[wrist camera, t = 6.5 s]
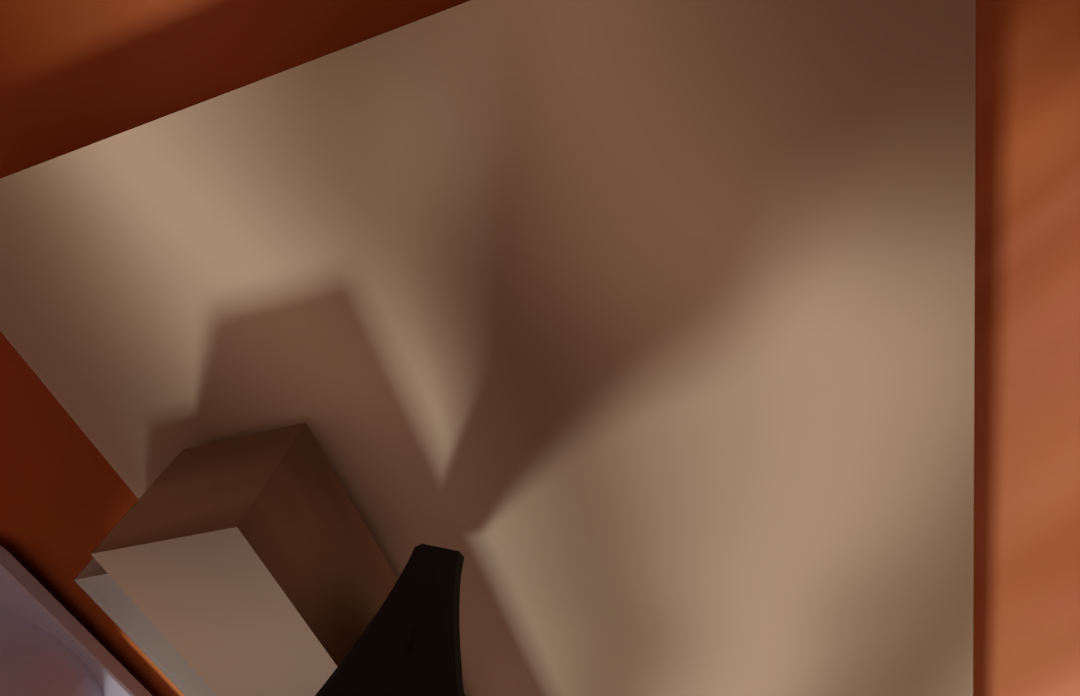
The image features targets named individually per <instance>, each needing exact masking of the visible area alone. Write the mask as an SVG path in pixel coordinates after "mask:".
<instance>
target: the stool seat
mask: <svg viewBox="0 0 1080 696" xmlns="http://www.w3.org/2000/svg"><path fill="white" fill-rule="evenodd" d="M975 120H976V0H470V1H468V2H465V3H462V4H460V5H457V6H455V7H452V8H449V9H447V10H444V11H441V12H439V13H436V14H433V15H431V16H428V17H426V18H423V19H420V20H418V21H415V22H412V23H410V24H407V25H404V26H402V27H399V28H396V29H394V30H391V31H389V32H386V33H383V34H381V35H378V36H375V37H373V38H370V39H367V40H365V41H362V42H360V43H357V44H354V45H352V46H349V47H346V48H344V49H341V50H338V51H336V52H333V53H331V54H328V55H325V56H323V57H320V58H317V59H315V60H312V61H309V62H307V63H304V64H301V65H299V66H296V67H294V68H291V69H288V70H286V71H283V72H280V73H278V74H275V75H272V76H270V77H267V78H265V79H262V80H259V81H257V82H254V83H251V84H249V85H246V86H243V87H241V88H238V89H236V90H233V91H230V92H228V93H225V94H222V95H220V96H217V97H214V98H212V99H209V100H207V101H204V102H201V103H199V104H196V105H193V106H191V107H188V108H185V109H183V110H180V111H177V112H175V113H172V114H170V115H167V116H164V117H162V118H159V119H156V120H154V121H151V122H148V123H146V124H143V125H141V126H138V127H135V128H133V129H130V130H127V131H125V132H122V133H119V134H117V135H114V136H112V137H109V138H106V139H104V140H101V141H98V142H96V143H93V144H90V145H88V146H85V147H83V148H80V149H77V150H75V151H72V152H69V153H67V154H64V155H61V156H59V157H56V158H53V159H51V160H48V161H46V162H43V163H40V164H38V165H35V166H32V167H30V168H27V169H24V170H22V171H19V172H17V173H14V174H11V175H9V176H6V177H3V178H1V179H0V331H1V333H2V334H3V335H4V336H5V338H6V339H7V340H8V341H9V342H10V344H11V345H12V346H13V347H14V349H15V350H16V351H17V352H18V353H19V355H20V356H21V357H22V358H23V359H24V361H25V362H26V363H27V364H28V366H29V367H30V368H31V369H32V370H33V372H34V373H35V374H36V375H37V377H38V378H39V379H40V380H41V381H42V383H43V384H44V385H45V386H46V387H47V389H48V390H49V391H50V392H51V394H52V395H53V396H54V397H55V398H56V400H57V401H58V402H59V403H60V405H61V406H62V407H63V408H64V409H65V411H66V412H67V413H68V414H69V416H70V417H71V418H72V419H73V420H74V422H75V423H76V424H77V425H78V426H79V428H80V429H81V430H82V431H83V433H84V434H85V435H86V436H87V437H88V439H89V440H90V441H91V442H92V444H93V445H94V446H95V447H96V448H97V450H98V451H99V452H100V453H101V454H102V456H103V457H104V458H105V459H106V461H107V462H108V463H109V464H110V465H111V467H112V468H113V469H114V470H115V472H116V473H117V474H118V475H119V476H120V478H121V479H122V480H123V481H124V482H125V484H126V485H127V486H128V487H129V489H130V490H131V491H132V492H133V493H134V495H135V496H136V497H137V498H138V500H139V498H140V497H141V496H142V495H143V494H144V493H145V492H146V490H147V489H148V488H149V487H150V486H151V485H152V484H153V483H154V481H155V480H156V479H157V478H158V477H159V476H160V475H161V473H162V472H163V471H164V470H165V469H166V468H167V467H168V465H169V464H170V463H171V462H172V461H173V460H174V459H175V458H176V456H177V455H178V454H179V453H180V452H181V451H182V450H183V449H186V448H191V447H195V446H200V445H204V444H209V443H214V442H218V441H223V440H227V439H232V438H236V437H241V436H245V435H250V434H255V433H259V432H264V431H268V430H273V429H277V428H282V427H287V426H291V425H296V424H300V423H305V422H306V424H307V426H308V427H309V429H310V431H311V432H312V434H313V436H314V437H315V439H316V441H317V443H318V444H319V446H320V448H321V449H322V451H323V453H324V454H325V456H326V458H327V460H328V461H329V463H330V465H331V466H332V468H333V470H334V472H335V473H336V475H337V477H338V478H339V480H340V482H341V483H342V485H343V487H344V489H345V490H346V492H347V494H348V495H349V497H350V499H351V501H352V502H353V504H354V506H355V507H356V509H357V511H358V512H359V514H360V516H361V518H362V519H363V521H364V523H365V524H366V526H367V528H368V529H369V531H370V533H371V535H372V536H373V538H374V540H375V541H376V543H377V545H378V547H379V548H380V550H381V552H382V553H383V555H384V557H385V558H386V560H387V562H388V564H389V565H390V567H391V569H392V570H393V572H394V574H395V576H396V577H397V579H398V578H399V577H400V575H401V573H402V571H403V570H404V568H405V566H406V564H407V562H408V560H409V558H410V556H411V554H412V552H413V550H414V548H415V547H416V546H418V545H420V544H426V545H431V546H436V547H441V548H446V549H451V550H456V551H460V553H461V554H462V555H463V556H464V562H463V567H462V574H461V583H460V602H459V628H460V650H461V663H462V677H463V688H464V693H465V695H466V696H973V602H974V361H975ZM74 581H75V582H76V583H77V584H78V585H79V586H80V587H81V588H82V589H83V590H84V591H85V592H86V593H87V594H88V595H89V596H90V597H91V598H92V600H93V601H94V602H95V603H96V604H97V605H98V606H99V607H100V608H101V609H102V610H103V611H104V612H105V613H106V614H107V615H108V616H109V617H110V618H111V619H112V620H113V621H114V622H115V623H116V624H117V626H118V627H119V628H120V629H121V630H122V631H123V632H124V633H125V634H126V635H127V636H128V637H129V638H130V639H131V640H132V641H133V642H134V643H135V644H136V645H137V646H138V647H139V648H140V649H141V650H142V652H143V653H144V654H145V655H146V656H147V657H148V658H149V659H150V660H151V661H152V662H153V663H154V664H155V665H156V666H157V667H158V668H159V669H160V670H161V671H162V672H163V673H164V674H165V675H166V676H167V677H168V679H169V680H170V681H171V682H172V683H173V684H174V685H175V686H176V687H177V688H178V689H179V690H180V691H181V692H182V693H183V694H184V695H185V696H217V695H216V694H215V693H214V692H213V691H212V689H211V688H210V687H209V686H208V685H207V684H206V683H205V682H204V680H203V679H202V678H201V677H200V676H199V675H198V674H197V673H196V671H195V670H194V669H193V668H192V667H191V666H190V665H189V664H188V663H187V661H186V660H185V659H184V658H183V657H182V656H181V655H180V654H179V652H178V651H177V650H176V649H175V648H174V647H173V646H172V645H171V643H170V642H169V641H168V640H167V639H166V638H165V637H164V636H163V635H162V633H161V632H160V631H159V630H158V629H157V628H156V627H155V626H154V624H153V623H152V622H151V621H150V620H149V619H148V618H147V617H146V616H145V614H144V613H143V612H142V611H141V610H140V609H139V608H138V607H137V605H136V604H135V603H134V602H133V601H132V600H131V599H130V598H129V596H128V595H127V594H126V593H125V592H124V591H123V590H122V589H121V588H120V586H119V585H118V584H117V583H116V582H115V581H114V580H113V579H112V577H111V576H110V575H109V574H108V573H107V572H106V571H105V570H104V568H103V567H102V566H101V565H100V564H99V563H98V562H97V561H96V560H95V558H93V559H92V560H91V561H90V562H89V563H88V565H87V566H86V567H85V568H84V569H83V570H82V571H81V573H80V574H79V575H78V576H77V577H76V578H75V579H74Z"/></svg>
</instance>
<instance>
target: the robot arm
mask: <svg viewBox="0 0 1080 696" xmlns="http://www.w3.org/2000/svg"><path fill="white" fill-rule="evenodd" d="M463 562H464V556H463V555H462V554H461V553H460V551H456V550H451V549H446V548H441V547H436V546H431V545H426V544H420V545H418V546H416V547H415V548H414V550H413V552H412V554H411V556H410V558H409V560H408V562H407V564H406V566H405V568H404V570H403V571H402V573H401V575H400V577H399V578H398V580H397V582H396V584H395V585H394V587H393V589H392V590H391V592H390V593H389V595H388V596H387V598H386V600H385V601H384V603H383V604H382V606H381V607H380V609H379V610H378V612H377V613H376V615H375V616H374V618H373V619H372V620H371V622H370V623H369V625H368V626H367V628H366V629H365V630H364V632H363V633H362V635H361V636H360V638H359V639H358V640H357V642H356V643H355V645H354V646H353V647H352V649H351V650H350V652H349V653H348V654H347V656H346V657H345V658H344V660H343V661H342V662H341V663H340V665H339V666H338V667H337V668H336V670H335V671H334V672H333V673H332V675H331V676H330V677H329V679H328V680H327V681H326V682H325V684H324V685H323V686H322V687H321V689H320V690H319V691H318V692H317V694H316V695H315V696H464V688H463V677H462V663H461V650H460V628H459V602H460V583H461V574H462V567H463ZM0 696H153V695H152V694H151V693H150V692H149V691H148V690H147V689H146V688H145V687H144V686H143V685H142V684H141V683H140V682H139V681H138V680H137V679H136V678H135V677H134V676H133V675H132V674H131V673H130V672H129V671H128V670H127V669H126V668H125V667H124V666H123V665H122V664H121V663H120V662H119V661H118V660H117V659H116V658H115V657H114V656H113V655H112V654H111V653H110V652H109V651H108V650H107V649H106V648H105V647H104V646H103V645H102V644H101V643H100V642H99V641H98V640H97V639H96V638H95V637H94V636H93V635H92V634H91V633H90V632H89V631H88V630H87V629H86V628H85V627H84V626H83V625H82V624H81V623H80V622H79V621H78V620H77V619H76V618H75V617H74V616H73V615H72V614H71V613H70V612H69V611H68V610H67V609H66V608H65V607H64V606H63V605H62V604H61V603H60V602H59V601H58V600H57V599H56V598H55V597H54V596H53V595H52V594H51V593H50V592H49V591H48V590H47V589H46V588H45V587H44V586H43V585H42V584H41V583H40V582H39V581H38V580H37V579H36V578H35V577H34V576H33V575H32V574H31V573H30V572H29V571H28V570H27V569H26V568H25V567H24V566H23V565H22V564H21V563H20V562H19V561H18V560H17V559H16V558H15V557H14V556H13V555H12V554H11V553H10V552H9V551H8V550H6V549H5V548H4V547H3V546H1V545H0Z"/></svg>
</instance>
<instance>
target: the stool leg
mask: <svg viewBox="0 0 1080 696" xmlns="http://www.w3.org/2000/svg"><path fill="white" fill-rule="evenodd" d="M91 555H92V556H93V557H94V558H95V560H96V561H97V562H98V563H99V564H100V565H101V566H102V567H103V568H104V570H105V571H106V572H107V573H108V574H109V575H110V576H111V577H112V579H113V580H114V581H115V582H116V583H117V584H118V585H119V586H120V588H121V589H122V590H123V591H124V592H125V593H126V594H127V595H128V596H129V598H130V599H131V600H132V601H133V602H134V603H135V604H136V605H137V607H138V608H139V609H140V610H141V611H142V612H143V613H144V614H145V616H146V617H147V618H148V619H149V620H150V621H151V622H152V623H153V624H154V626H155V627H156V628H157V629H158V630H159V631H160V632H161V633H162V635H163V636H164V637H165V638H166V639H167V640H168V641H169V642H170V643H171V645H172V646H173V647H174V648H175V649H176V650H177V651H178V652H179V654H180V655H181V656H182V657H183V658H184V659H185V660H186V661H187V663H188V664H189V665H190V666H191V667H192V668H193V669H194V670H195V671H196V673H197V674H198V675H199V676H200V677H201V678H202V679H203V680H204V682H205V683H206V684H207V685H208V686H209V687H210V688H211V689H212V691H213V692H214V693H215V694H216V695H217V696H315V695H316V694H317V692H318V691H319V690H320V689H321V687H322V686H323V685H324V684H325V682H326V681H327V680H328V679H329V677H330V676H331V675H332V673H333V672H334V671H335V670H336V668H337V667H338V666H339V665H340V663H341V662H342V661H343V660H344V658H345V657H346V656H347V654H348V653H349V652H350V650H351V649H352V647H353V646H354V645H355V643H356V642H357V640H358V639H359V638H360V636H361V635H362V633H363V632H364V630H365V629H366V628H367V626H368V625H369V623H370V622H371V620H372V619H373V618H374V616H375V615H376V613H377V612H378V610H379V609H380V607H381V606H382V604H383V603H384V601H385V600H386V598H387V596H388V595H389V593H390V592H391V590H392V589H393V587H394V585H395V584H396V582H397V580H398V579H397V577H396V576H395V574H394V572H393V570H392V569H391V567H390V565H389V564H388V562H387V560H386V558H385V557H384V555H383V553H382V552H381V550H380V548H379V547H378V545H377V543H376V541H375V540H374V538H373V536H372V535H371V533H370V531H369V529H368V528H367V526H366V524H365V523H364V521H363V519H362V518H361V516H360V514H359V512H358V511H357V509H356V507H355V506H354V504H353V502H352V501H351V499H350V497H349V495H348V494H347V492H346V490H345V489H344V487H343V485H342V483H341V482H340V480H339V478H338V477H337V475H336V473H335V472H334V470H333V468H332V466H331V465H330V463H329V461H328V460H327V458H326V456H325V454H324V453H323V451H322V449H321V448H320V446H319V444H318V443H317V441H316V439H315V437H314V436H313V434H312V432H311V431H310V429H309V427H308V426H307V424H306V422H305V423H300V424H296V425H291V426H287V427H282V428H277V429H273V430H268V431H264V432H259V433H255V434H250V435H245V436H241V437H236V438H232V439H227V440H223V441H218V442H214V443H209V444H204V445H200V446H195V447H191V448H186V449H183V450H182V451H181V452H180V453H179V454H178V455H177V456H176V458H175V459H174V460H173V461H172V462H171V463H170V464H169V465H168V467H167V468H166V469H165V470H164V471H163V472H162V473H161V475H160V476H159V477H158V478H157V479H156V480H155V481H154V483H153V484H152V485H151V486H150V487H149V488H148V489H147V490H146V492H145V493H144V494H143V495H142V496H141V497H140V498H139V500H138V501H137V502H136V503H135V504H134V505H133V506H132V508H131V509H130V510H129V511H128V512H127V513H126V514H125V515H124V517H123V518H122V519H121V520H120V521H119V522H118V523H117V525H116V526H115V527H114V528H113V529H112V530H111V531H110V532H109V534H108V535H107V536H106V537H105V538H104V539H103V540H102V542H101V543H100V544H99V545H98V546H97V547H96V548H95V550H94V551H93V552H92V553H91ZM464 696H466V695H465V693H464Z"/></svg>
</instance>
